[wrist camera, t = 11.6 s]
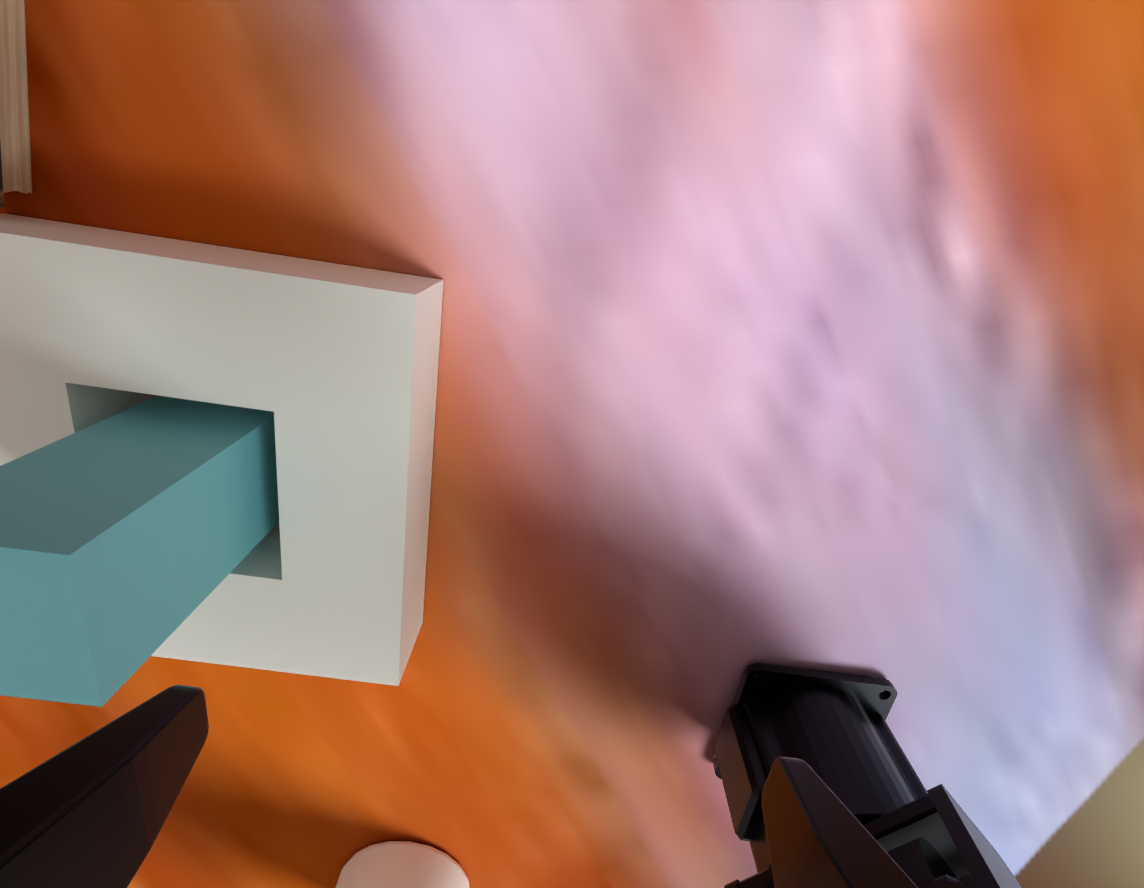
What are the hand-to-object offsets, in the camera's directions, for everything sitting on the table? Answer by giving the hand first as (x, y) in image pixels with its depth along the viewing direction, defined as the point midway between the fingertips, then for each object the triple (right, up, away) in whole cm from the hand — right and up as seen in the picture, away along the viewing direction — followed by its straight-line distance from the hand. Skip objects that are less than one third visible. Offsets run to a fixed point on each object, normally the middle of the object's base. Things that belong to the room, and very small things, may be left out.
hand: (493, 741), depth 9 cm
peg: (-11, +5, +12) cm, 17 cm away
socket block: (-11, +5, +12) cm, 17 cm away
